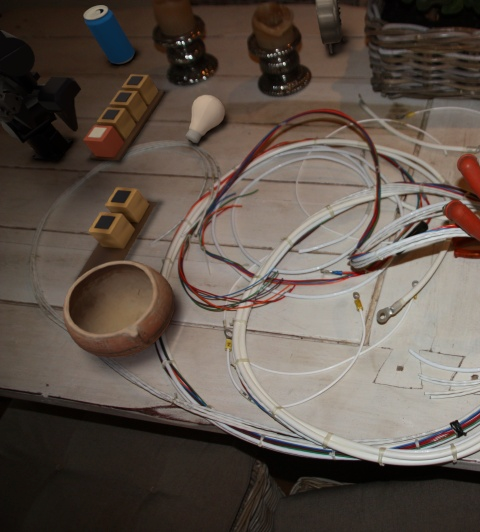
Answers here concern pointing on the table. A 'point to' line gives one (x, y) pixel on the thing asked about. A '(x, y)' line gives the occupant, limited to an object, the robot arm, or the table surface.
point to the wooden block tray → (118, 226)
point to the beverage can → (109, 34)
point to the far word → (130, 111)
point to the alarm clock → (329, 21)
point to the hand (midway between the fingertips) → (55, 129)
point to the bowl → (118, 308)
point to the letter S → (103, 141)
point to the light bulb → (204, 116)
